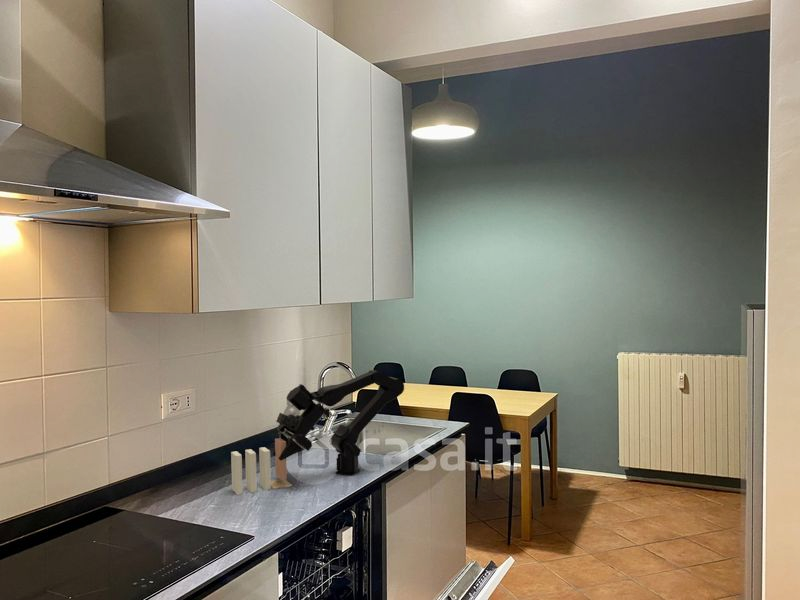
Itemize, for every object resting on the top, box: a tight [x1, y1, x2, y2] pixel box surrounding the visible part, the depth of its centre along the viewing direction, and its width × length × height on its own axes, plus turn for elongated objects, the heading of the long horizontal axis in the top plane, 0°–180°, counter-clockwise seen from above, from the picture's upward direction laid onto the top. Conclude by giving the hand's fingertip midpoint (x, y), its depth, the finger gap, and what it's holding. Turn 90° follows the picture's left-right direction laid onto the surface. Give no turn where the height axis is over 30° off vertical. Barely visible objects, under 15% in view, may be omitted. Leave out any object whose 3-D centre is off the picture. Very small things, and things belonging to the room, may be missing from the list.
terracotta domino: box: [274, 438, 288, 480], centre depth 204 cm, size 2×6×12 cm, turn 29°
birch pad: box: [271, 478, 293, 490], centre depth 204 cm, size 6×8×1 cm
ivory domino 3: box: [258, 446, 272, 491], centre depth 202 cm, size 2×6×12 cm, turn 30°
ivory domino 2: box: [244, 448, 258, 493], centre depth 199 cm, size 2×6×12 cm, turn 30°
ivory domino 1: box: [230, 451, 243, 496], centre depth 197 cm, size 2×6×12 cm, turn 30°
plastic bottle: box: [283, 399, 301, 417], centre depth 244 cm, size 6×7×20 cm
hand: (276, 457), depth 203 cm, fingers closed on terracotta domino, 5 cm apart
